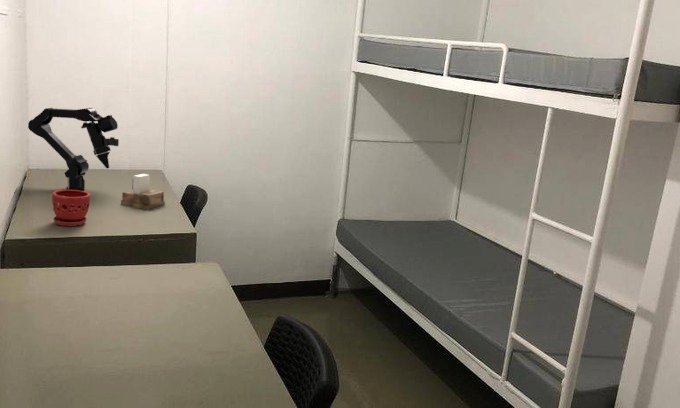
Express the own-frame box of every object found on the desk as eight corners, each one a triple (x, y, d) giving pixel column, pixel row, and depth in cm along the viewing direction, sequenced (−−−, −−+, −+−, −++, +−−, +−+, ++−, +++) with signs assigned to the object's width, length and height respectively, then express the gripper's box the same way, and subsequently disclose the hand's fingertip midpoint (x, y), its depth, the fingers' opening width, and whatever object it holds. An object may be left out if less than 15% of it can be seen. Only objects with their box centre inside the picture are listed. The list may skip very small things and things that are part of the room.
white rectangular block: (131, 199, 273) (131, 175, 270) (140, 197, 278) (141, 173, 276) (139, 201, 271) (139, 177, 268) (149, 199, 277) (149, 174, 274)
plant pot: (73, 230, 230) (73, 198, 227) (44, 223, 234) (44, 192, 231) (97, 222, 242) (97, 192, 239) (69, 216, 246) (69, 187, 243)
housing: (120, 203, 272) (121, 190, 270) (139, 199, 282) (139, 186, 281) (146, 209, 267) (147, 195, 265) (164, 204, 277) (165, 191, 276)
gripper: (115, 129, 276) (127, 162, 279) (112, 131, 293) (123, 163, 296) (90, 136, 272) (102, 170, 274) (88, 138, 289) (99, 170, 291)
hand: (108, 168), depth 284 cm, fingers closed
